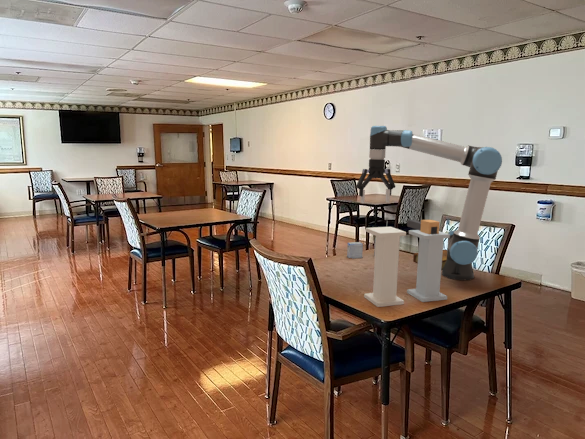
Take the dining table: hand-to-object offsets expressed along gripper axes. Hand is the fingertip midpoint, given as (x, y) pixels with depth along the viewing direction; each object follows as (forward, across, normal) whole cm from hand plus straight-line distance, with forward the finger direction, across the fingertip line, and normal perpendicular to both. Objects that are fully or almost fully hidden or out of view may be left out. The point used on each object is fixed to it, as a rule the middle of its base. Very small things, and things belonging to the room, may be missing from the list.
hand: (374, 202), depth 210 cm
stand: (+37, +12, +32) cm, 50 cm away
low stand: (+37, -9, +32) cm, 50 cm away
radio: (+37, -27, -33) cm, 56 cm away
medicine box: (+37, -7, -34) cm, 51 cm away
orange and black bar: (+9, -9, +26) cm, 29 cm away
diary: (+37, -48, -10) cm, 62 cm away
